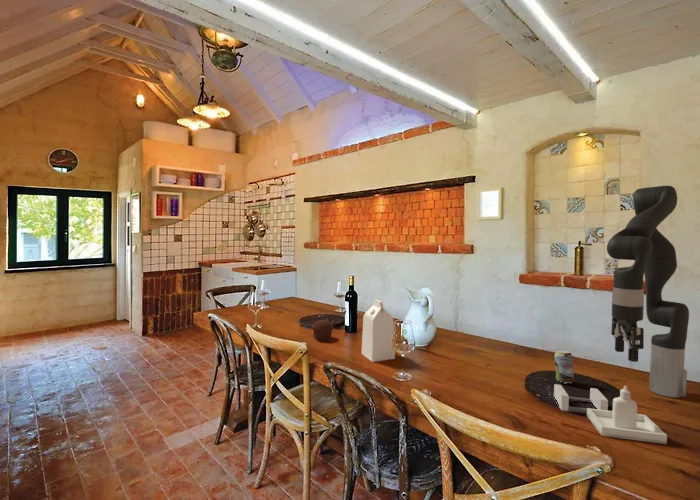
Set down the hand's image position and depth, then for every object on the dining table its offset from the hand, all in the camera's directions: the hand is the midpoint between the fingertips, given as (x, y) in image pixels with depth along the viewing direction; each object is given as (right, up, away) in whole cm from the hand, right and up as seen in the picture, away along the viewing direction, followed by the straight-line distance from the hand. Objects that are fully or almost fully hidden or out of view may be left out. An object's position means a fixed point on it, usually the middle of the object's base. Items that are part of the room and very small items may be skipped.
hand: (625, 356), depth 109 cm
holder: (-7, -20, +11) cm, 24 cm away
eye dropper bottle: (-2, -20, -2) cm, 20 cm away
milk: (-70, -18, +60) cm, 94 cm away
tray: (-2, -21, -2) cm, 21 cm away
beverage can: (0, -19, +31) cm, 37 cm away
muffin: (-98, -16, +87) cm, 132 cm away
